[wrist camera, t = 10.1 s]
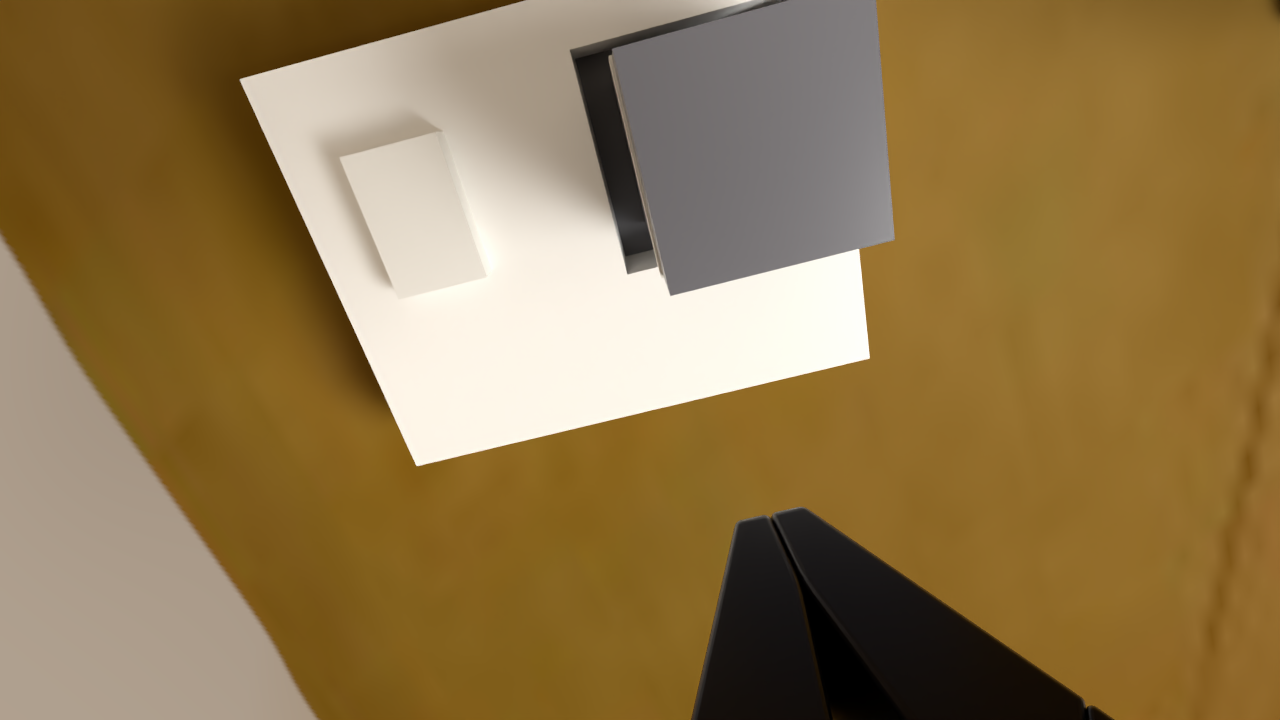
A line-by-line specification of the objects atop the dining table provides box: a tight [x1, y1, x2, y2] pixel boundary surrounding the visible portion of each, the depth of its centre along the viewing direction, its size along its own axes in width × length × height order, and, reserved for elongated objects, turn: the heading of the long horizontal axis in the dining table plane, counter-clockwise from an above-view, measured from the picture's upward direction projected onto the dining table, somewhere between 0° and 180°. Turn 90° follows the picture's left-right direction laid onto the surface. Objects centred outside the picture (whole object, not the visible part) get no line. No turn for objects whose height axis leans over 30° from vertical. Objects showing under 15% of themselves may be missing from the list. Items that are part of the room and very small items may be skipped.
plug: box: [609, 0, 895, 296], centre depth 13 cm, size 4×4×8 cm
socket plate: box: [239, 0, 870, 466], centre depth 16 cm, size 14×11×3 cm
